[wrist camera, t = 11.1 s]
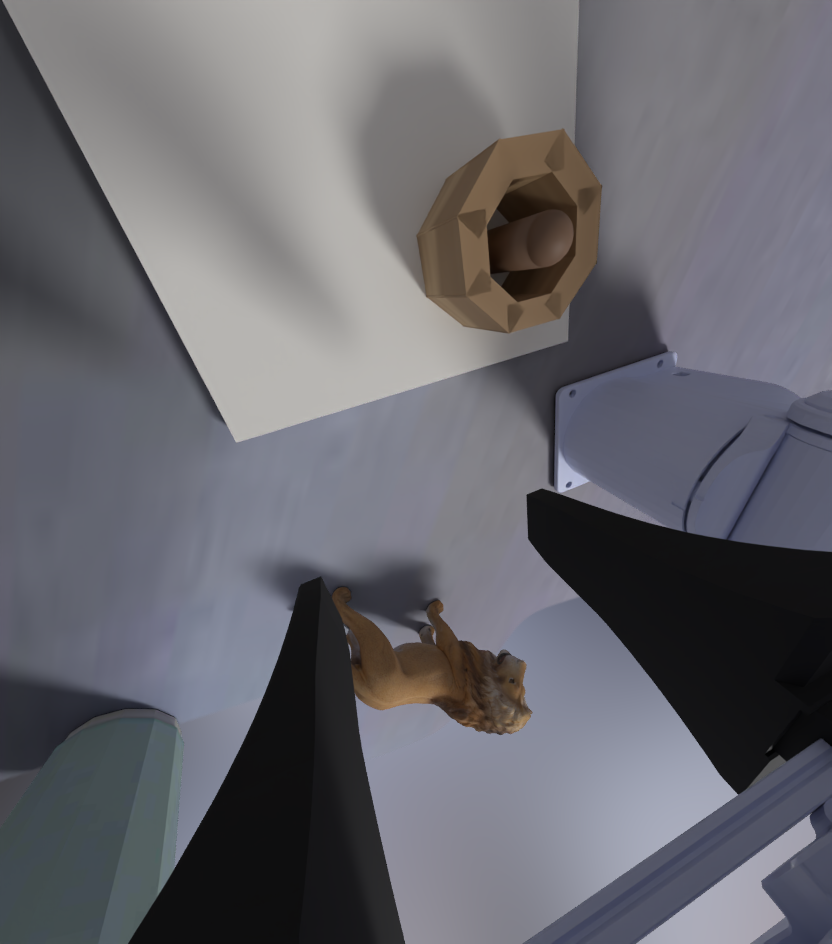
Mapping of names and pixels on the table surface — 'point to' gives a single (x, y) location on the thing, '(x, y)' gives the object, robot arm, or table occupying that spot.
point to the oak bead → (515, 196)
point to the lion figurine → (435, 672)
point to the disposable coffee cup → (93, 833)
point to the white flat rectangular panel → (302, 173)
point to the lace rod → (530, 242)
